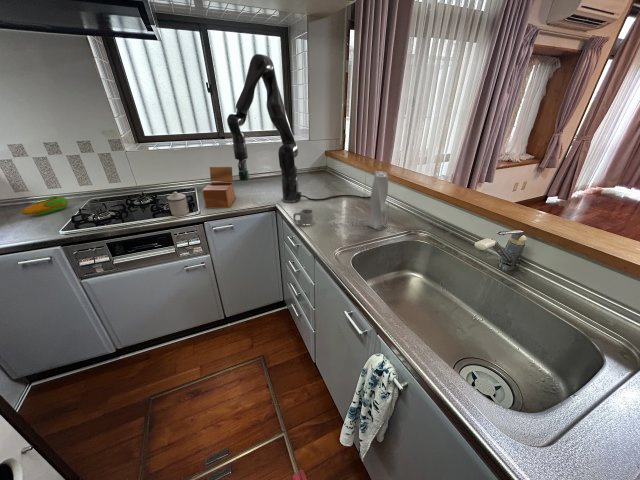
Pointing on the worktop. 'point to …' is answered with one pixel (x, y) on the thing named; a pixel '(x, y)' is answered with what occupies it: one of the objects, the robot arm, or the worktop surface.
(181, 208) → the teacup with lid
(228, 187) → the wooden box
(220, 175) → the flap
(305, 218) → the mug
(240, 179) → the sponge
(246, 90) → the robot arm
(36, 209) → the corn
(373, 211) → the skyscraper
